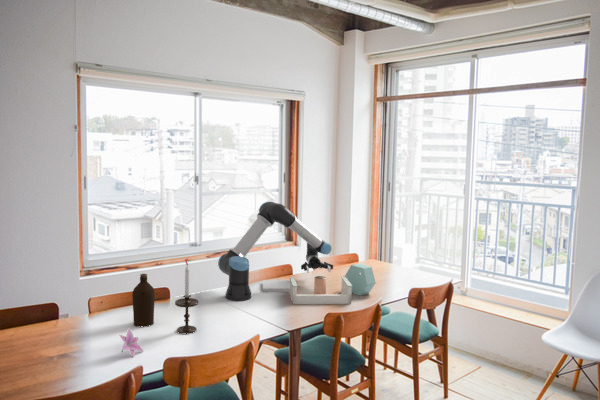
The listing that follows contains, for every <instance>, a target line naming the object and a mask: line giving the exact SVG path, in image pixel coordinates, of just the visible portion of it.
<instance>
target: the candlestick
mask: <svg viewBox="0 0 600 400" xmlns="http://www.w3.org/2000/svg"><path fill="white" fill-rule="evenodd" d="M185 264H186V267H185V269H184V271H185V272H184V279H185V280H184V295H182V298H179V299H176V300H175V302H174V303H175V304H174V305H175V306H176V307H178V308H179V307H180V308H185V309H184V310H185V314H184V315H183V318H184V320H183V321H184V322H185V323H184V325H182V326H179V327H177V329H176V333H178V332H179V333H178V334H180V333H186V334H185V335H188V334H187V333H192V334H194V333H196V332H197V327H196V326H195V325H189V322H190V319H189V318H190V317H191V315H190V314H189V308H192V307H195V306H198V305H199V299H197V298H194V297H193V298H192V295H191V294H190V268H189V266H188V265H189V263H188V260H185ZM195 331H196V332H195ZM193 332H194V333H193Z"/></svg>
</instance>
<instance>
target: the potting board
mask: <svg viewBox="0 0 600 400" xmlns="http://www.w3.org/2000/svg"><path fill="white" fill-rule="evenodd" d="M261 286H262V292H264V293H267V292H268V293H269V292H270V293H271V292H275V293H277V292H278V293H279V292H280V293H283V292H284V293H288V292H289V293H290V280H261Z"/></svg>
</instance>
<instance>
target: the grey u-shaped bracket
mask: <svg viewBox="0 0 600 400" xmlns="http://www.w3.org/2000/svg"><path fill="white" fill-rule="evenodd" d="M289 281H290V292H289V296H290V299H291V302H292V305H349V304H350V305H351V304H352V295H353V293H352V284H351V283H350V282H349V281H348V279H347V278H346V277H345V276H341V291H340V292H341V293H339V294H338V293H335V294H332V293H331V294H328V293H326V294H314V293H313V294H312V293H311V294H310V293H309V294H297V293H298V292H297V290H298V289H297V288H298V284H297V282H296V278H295V276H289Z"/></svg>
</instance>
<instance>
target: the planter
mask: <svg viewBox="0 0 600 400" xmlns="http://www.w3.org/2000/svg"><path fill="white" fill-rule="evenodd" d="M344 277H346V278H347V279H348V281H349V282H350V283H351V284H352V294H354V295H358V296H360V297H361V296H364V295H368V294H370V293H371V291H372V289H373V288H374V287H375V285H376V278H375V275H374V271H373V267H372V266H370V265H366V264H363V263H356V264H351V265H350V266H349V268H348V270H347V271H346V273H345V275H344Z"/></svg>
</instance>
